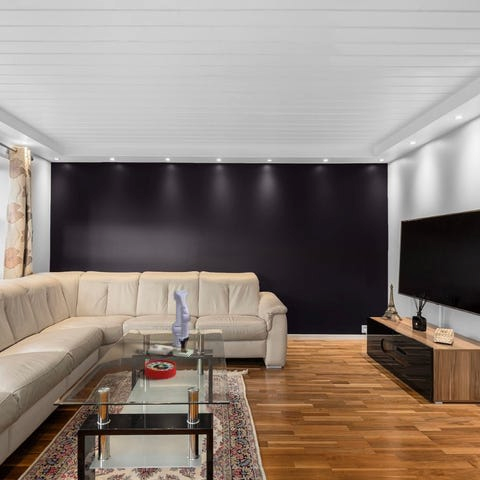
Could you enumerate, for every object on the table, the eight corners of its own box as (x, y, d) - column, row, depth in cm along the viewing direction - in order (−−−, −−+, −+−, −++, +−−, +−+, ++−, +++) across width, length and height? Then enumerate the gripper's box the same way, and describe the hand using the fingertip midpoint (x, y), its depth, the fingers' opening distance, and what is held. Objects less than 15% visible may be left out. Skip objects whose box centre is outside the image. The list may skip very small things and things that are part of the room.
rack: (178, 350, 317) (178, 347, 317) (193, 352, 315) (193, 349, 315) (172, 355, 306) (173, 352, 305) (188, 357, 303) (188, 354, 303)
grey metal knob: (154, 348, 317) (154, 345, 317) (159, 349, 316) (159, 345, 316) (152, 350, 313) (152, 346, 313) (157, 351, 312) (157, 347, 312)
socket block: (155, 346, 322) (155, 344, 322) (172, 349, 319) (172, 346, 319) (148, 352, 308) (148, 349, 308) (166, 355, 306) (166, 352, 305)
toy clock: (142, 370, 260) (147, 358, 280) (142, 379, 260) (147, 367, 280) (174, 371, 261) (177, 360, 281) (174, 380, 261) (177, 368, 281)
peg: (181, 350, 313) (182, 340, 312) (186, 351, 312) (187, 341, 311) (179, 352, 309) (180, 342, 308) (185, 353, 308) (185, 342, 308)
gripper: (182, 326, 317) (181, 344, 318) (176, 331, 303) (175, 349, 304) (191, 327, 316) (190, 345, 317) (185, 332, 302) (184, 351, 302)
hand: (183, 347), depth 310 cm, fingers closed on peg, 4 cm apart
